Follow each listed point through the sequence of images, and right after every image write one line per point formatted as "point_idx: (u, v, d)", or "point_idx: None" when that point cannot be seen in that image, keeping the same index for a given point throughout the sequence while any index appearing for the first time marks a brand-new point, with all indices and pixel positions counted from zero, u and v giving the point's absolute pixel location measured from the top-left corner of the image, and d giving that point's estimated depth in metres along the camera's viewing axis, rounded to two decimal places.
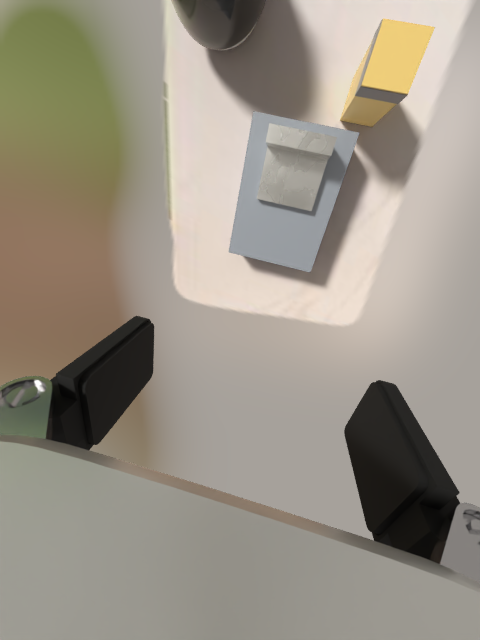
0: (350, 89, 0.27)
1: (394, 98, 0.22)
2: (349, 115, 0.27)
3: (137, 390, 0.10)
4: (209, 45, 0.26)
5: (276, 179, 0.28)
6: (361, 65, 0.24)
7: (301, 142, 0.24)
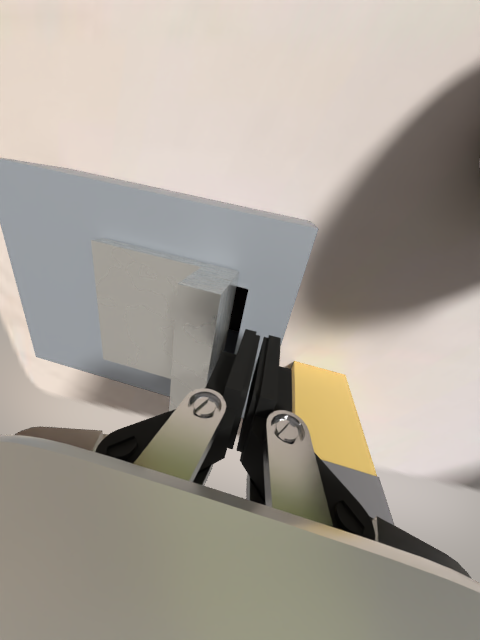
0: (328, 378, 0.17)
1: None
2: None
3: None
4: None
5: (141, 290, 0.12)
6: (348, 420, 0.14)
7: (185, 368, 0.10)
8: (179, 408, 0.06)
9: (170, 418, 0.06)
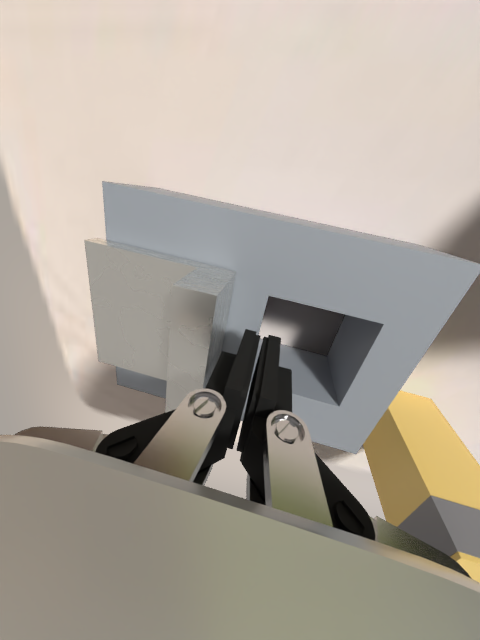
0: (418, 404, 0.17)
1: None
2: (383, 414, 0.16)
3: None
4: None
5: (136, 291, 0.11)
6: (460, 454, 0.14)
7: (181, 371, 0.10)
8: (179, 408, 0.06)
9: (170, 418, 0.06)
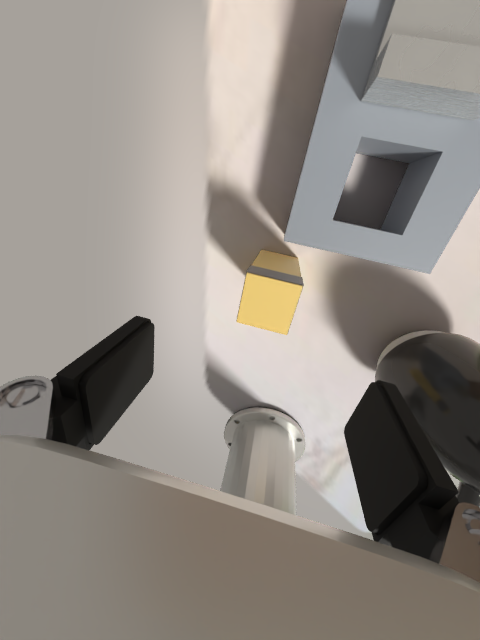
0: None
1: (257, 270, 0.18)
2: (291, 260, 0.23)
3: (137, 390, 0.10)
4: (466, 338, 0.21)
5: None
6: None
7: (454, 61, 0.12)
8: None
9: None
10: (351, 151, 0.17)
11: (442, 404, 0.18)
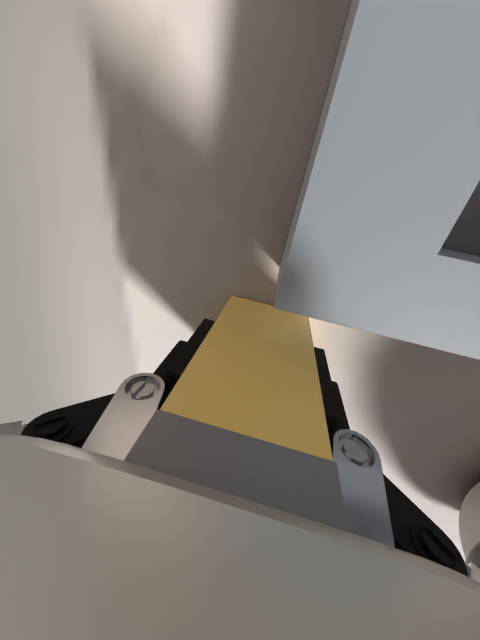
0: None
1: (165, 460, 0.04)
2: (295, 332, 0.10)
3: None
4: None
5: None
6: None
7: None
8: (116, 396, 0.06)
9: (108, 408, 0.06)
10: None
11: None
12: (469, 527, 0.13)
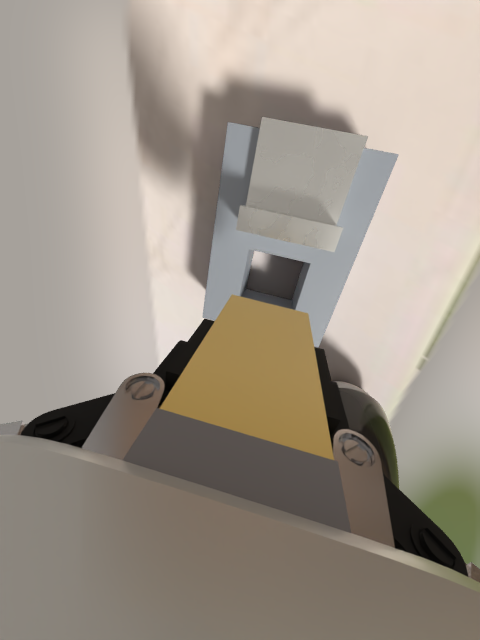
0: None
1: (165, 459, 0.04)
2: (296, 331, 0.10)
3: None
4: (358, 394, 0.26)
5: (324, 175, 0.16)
6: None
7: (286, 225, 0.16)
8: (115, 396, 0.06)
9: (107, 408, 0.06)
10: (243, 258, 0.21)
11: None
12: None
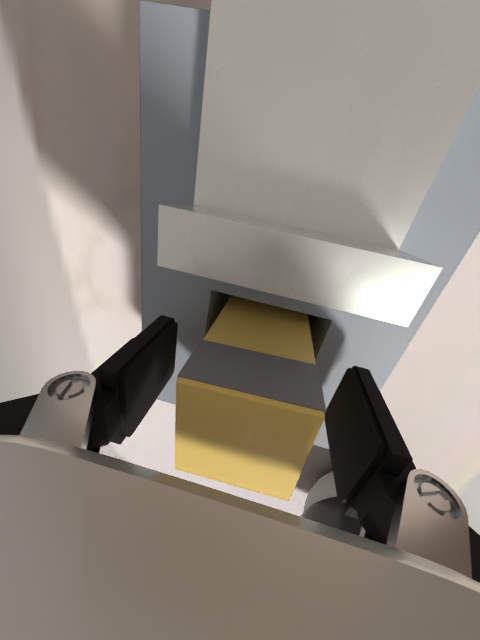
0: None
1: (212, 360, 0.07)
2: None
3: (162, 386, 0.10)
4: None
5: (380, 128, 0.06)
6: None
7: (281, 258, 0.06)
8: (38, 402, 0.06)
9: (31, 414, 0.05)
10: (202, 306, 0.11)
11: None
12: (304, 507, 0.20)
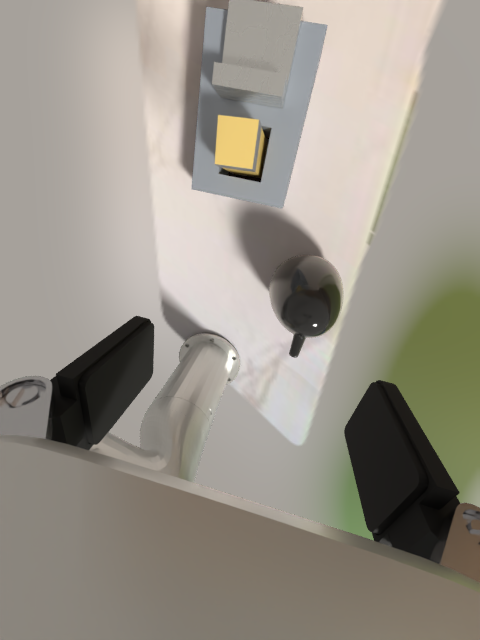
0: (263, 165, 0.31)
1: None
2: None
3: (137, 390, 0.10)
4: (317, 256, 0.32)
5: (275, 43, 0.23)
6: (259, 167, 0.29)
7: (247, 76, 0.22)
8: None
9: None
10: None
11: (282, 287, 0.29)
12: None
